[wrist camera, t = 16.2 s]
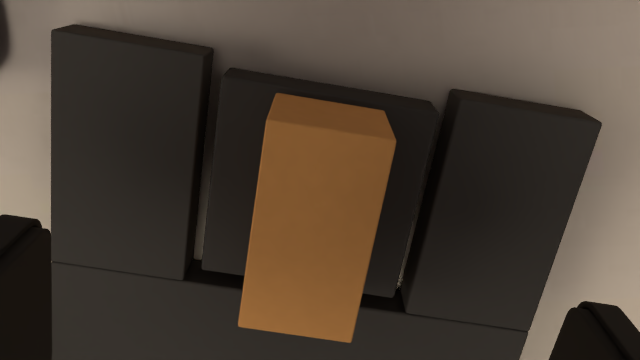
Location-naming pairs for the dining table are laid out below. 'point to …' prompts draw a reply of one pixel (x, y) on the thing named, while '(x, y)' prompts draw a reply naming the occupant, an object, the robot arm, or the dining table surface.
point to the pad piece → (312, 198)
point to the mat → (226, 289)
